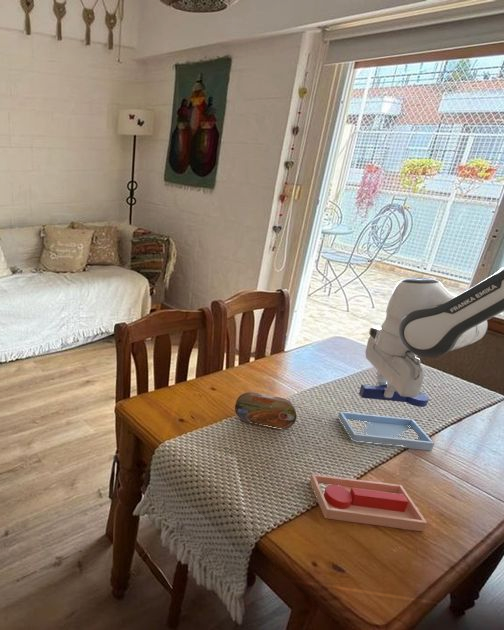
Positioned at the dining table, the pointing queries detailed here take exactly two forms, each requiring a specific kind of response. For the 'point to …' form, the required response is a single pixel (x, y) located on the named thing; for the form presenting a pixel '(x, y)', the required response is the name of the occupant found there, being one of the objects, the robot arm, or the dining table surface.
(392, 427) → the blue tray
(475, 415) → the dining table surface
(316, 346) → the dining table surface
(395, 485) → the pink tray
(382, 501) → the red spoon
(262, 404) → the tin
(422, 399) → the blue spoon
